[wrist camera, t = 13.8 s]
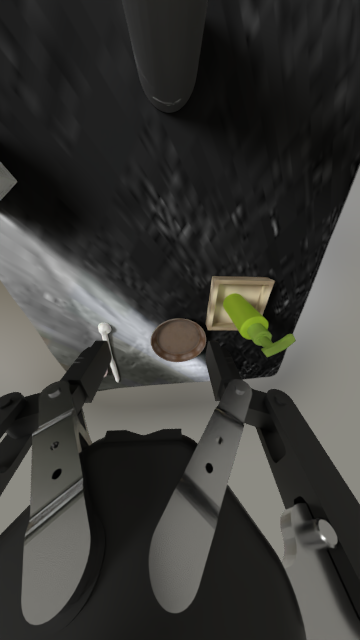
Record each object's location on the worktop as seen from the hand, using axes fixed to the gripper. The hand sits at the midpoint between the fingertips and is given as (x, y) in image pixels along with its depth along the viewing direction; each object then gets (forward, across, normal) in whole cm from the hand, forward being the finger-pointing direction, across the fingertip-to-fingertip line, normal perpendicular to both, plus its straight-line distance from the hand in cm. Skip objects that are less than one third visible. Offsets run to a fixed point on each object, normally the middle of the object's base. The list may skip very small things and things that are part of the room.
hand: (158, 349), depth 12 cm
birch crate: (+30, -19, +9) cm, 37 cm away
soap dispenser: (+30, -19, +8) cm, 36 cm away
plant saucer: (+31, -3, +22) cm, 38 cm away
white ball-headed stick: (+31, +20, +30) cm, 48 cm away
